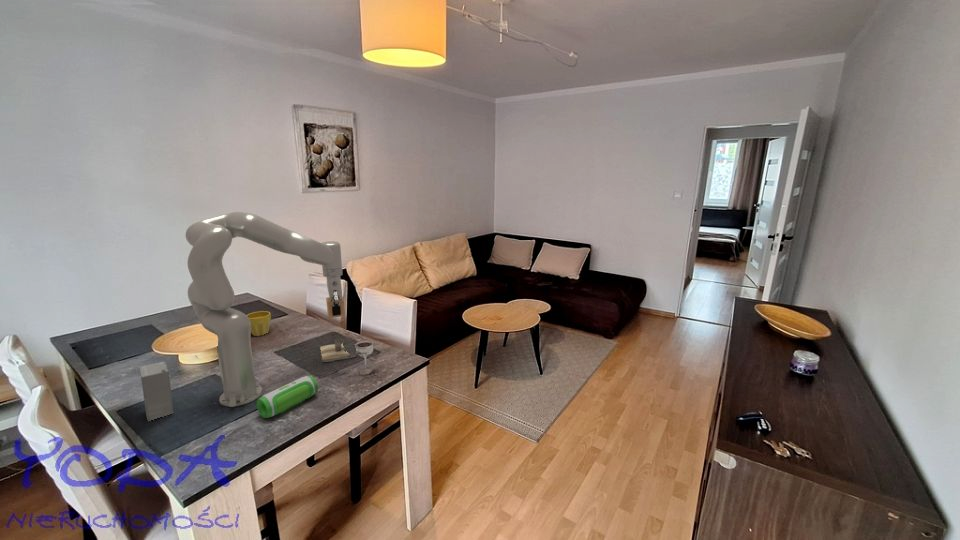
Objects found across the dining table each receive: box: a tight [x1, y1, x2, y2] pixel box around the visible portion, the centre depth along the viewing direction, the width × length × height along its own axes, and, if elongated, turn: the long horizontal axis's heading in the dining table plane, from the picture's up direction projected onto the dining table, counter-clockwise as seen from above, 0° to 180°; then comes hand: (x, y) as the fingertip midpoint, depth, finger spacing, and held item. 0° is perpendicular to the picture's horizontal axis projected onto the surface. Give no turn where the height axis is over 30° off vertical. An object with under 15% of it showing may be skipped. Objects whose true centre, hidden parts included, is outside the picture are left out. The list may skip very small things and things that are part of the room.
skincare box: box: [139, 360, 174, 422], centre depth 117 cm, size 8×7×16 cm
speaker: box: [256, 375, 319, 419], centre depth 124 cm, size 18×7×8 cm, turn 148°
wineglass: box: [354, 339, 374, 369], centre depth 146 cm, size 7×7×12 cm
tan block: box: [325, 296, 346, 319], centre depth 157 cm, size 6×6×7 cm
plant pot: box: [245, 310, 272, 337], centre depth 179 cm, size 10×10×10 cm
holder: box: [319, 338, 350, 362], centre depth 161 cm, size 14×14×6 cm
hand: (335, 311), depth 157 cm, fingers closed on tan block, 6 cm apart
